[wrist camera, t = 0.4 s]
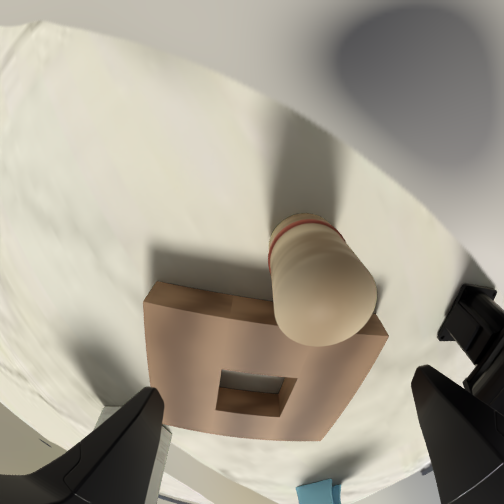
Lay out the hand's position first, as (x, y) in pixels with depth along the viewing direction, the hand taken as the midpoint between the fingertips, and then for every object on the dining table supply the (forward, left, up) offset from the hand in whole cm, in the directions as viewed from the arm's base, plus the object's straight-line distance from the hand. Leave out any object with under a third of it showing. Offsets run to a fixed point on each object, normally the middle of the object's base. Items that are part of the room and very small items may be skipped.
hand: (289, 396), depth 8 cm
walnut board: (-1, +12, -12) cm, 17 cm away
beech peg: (-2, -1, -12) cm, 12 cm away
